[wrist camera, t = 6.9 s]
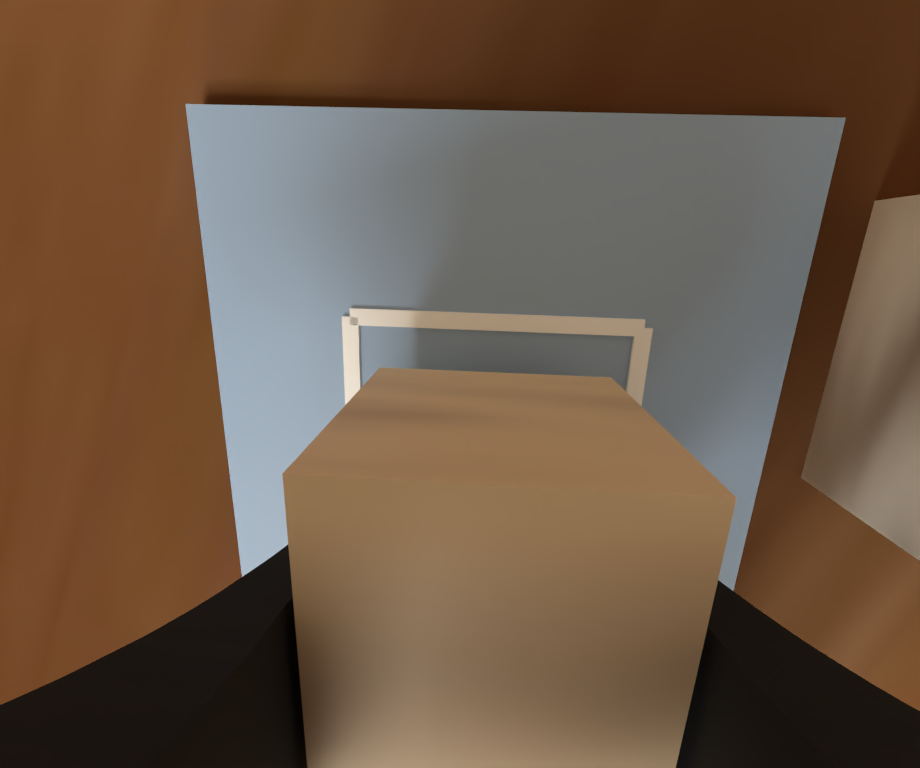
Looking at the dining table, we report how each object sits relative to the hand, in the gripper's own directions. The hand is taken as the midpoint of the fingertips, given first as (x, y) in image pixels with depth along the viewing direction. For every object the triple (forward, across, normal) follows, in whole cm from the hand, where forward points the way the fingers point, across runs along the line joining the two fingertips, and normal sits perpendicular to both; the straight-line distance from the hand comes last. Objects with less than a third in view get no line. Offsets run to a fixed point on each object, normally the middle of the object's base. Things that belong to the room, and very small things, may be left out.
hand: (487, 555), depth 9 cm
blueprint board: (+3, 0, 0) cm, 3 cm away
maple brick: (+1, 0, 0) cm, 1 cm away
